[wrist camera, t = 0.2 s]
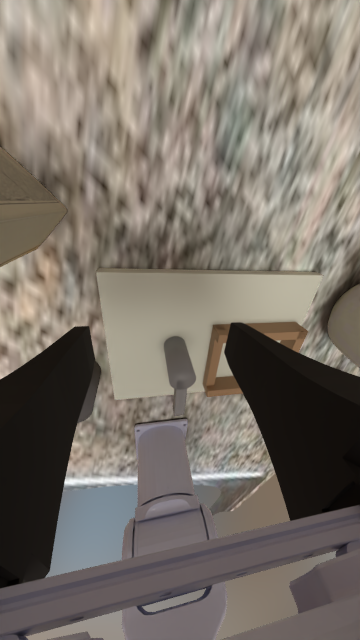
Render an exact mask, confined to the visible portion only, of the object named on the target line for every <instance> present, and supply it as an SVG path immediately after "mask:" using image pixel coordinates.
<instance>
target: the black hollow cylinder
mask: <svg viewBox="0 0 360 640" xmlns="http://www.w3.org/2000/svg"><path fill="white" fill-rule="evenodd" d="M100 375H101V368H100V366H99V365H98V363H97V362H94V369H93V374H92V379H91V382H90V385H89V388H88V392H87V395H86V398H85V401H84V404H83V407H82V410H81V413H80V416H79V419H78V422H77V423H79V422H82V421H84V420H86V419H87V418H88V417H89V416H90V415H91V414H92V411H93V406H94V402H95V397H96V393H97V389H98V384H99V380H100Z"/></svg>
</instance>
